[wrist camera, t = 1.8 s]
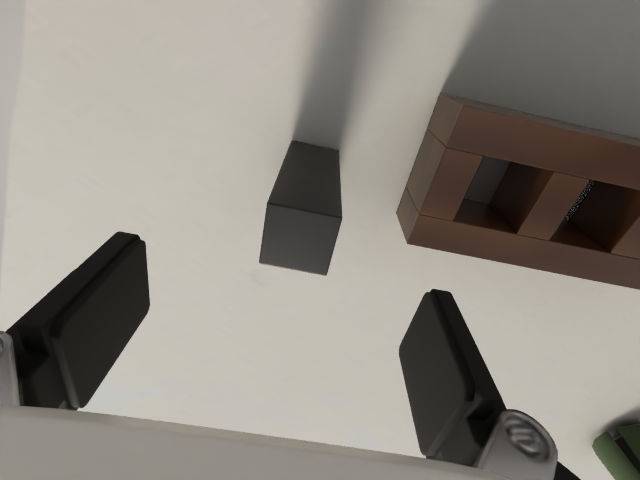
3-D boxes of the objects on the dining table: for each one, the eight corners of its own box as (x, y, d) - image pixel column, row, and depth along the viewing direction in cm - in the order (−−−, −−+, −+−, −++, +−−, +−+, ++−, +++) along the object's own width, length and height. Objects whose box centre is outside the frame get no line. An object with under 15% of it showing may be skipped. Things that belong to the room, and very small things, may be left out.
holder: (440, 92, 19) (463, 105, 16) (742, 163, 20) (824, 189, 17) (395, 213, 23) (406, 244, 20) (651, 265, 24) (702, 302, 21)
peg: (291, 139, 21) (266, 202, 13) (338, 150, 21) (342, 217, 13) (284, 184, 22) (258, 264, 14) (328, 193, 22) (326, 276, 15)
